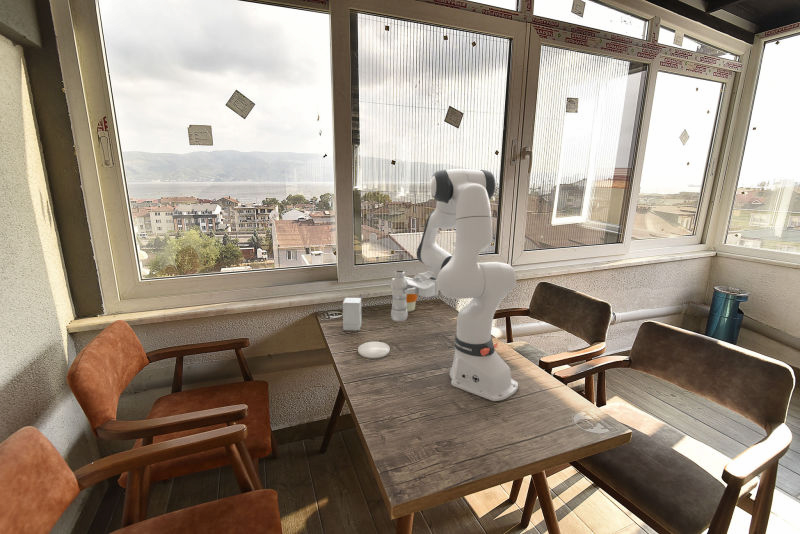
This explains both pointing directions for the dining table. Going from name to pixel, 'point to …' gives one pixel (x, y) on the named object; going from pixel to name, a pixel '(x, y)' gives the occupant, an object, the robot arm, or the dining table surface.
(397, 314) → the plastic bottle
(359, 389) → the dining table surface
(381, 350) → the coaster
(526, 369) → the dining table surface
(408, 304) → the reusable coffee cup
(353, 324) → the supplement box
